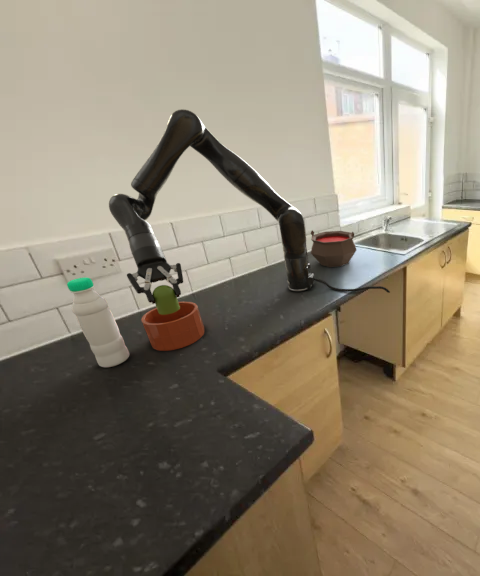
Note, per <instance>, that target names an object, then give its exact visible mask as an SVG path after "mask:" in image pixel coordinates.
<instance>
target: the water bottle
mask: <svg viewBox="0 0 480 576" xmlns="http://www.w3.org/2000/svg"><path fill="white" fill-rule="evenodd" d="M66 287H67V289H68V290H69V291H70V293H72V294H73V298H72V305H71V311H72V313H73V314H74V315H75V317H76V320H77V322H78V326H79V327H80V329H81V331H82V333H83V335H84V337H85V339H86V341H87V342H88V344H89V348H90V350H91V352H92V353H93V355H94V357H95V360H96V362H97V365H98V366H99V367H101V368H111V367H116V366H118V365H121V364H123V363H125V362H126V361H127V360H128V359H129V357H130V351H129V349H128V347H127V346H126V344H125V340H124V337H123V336H122V334H121V333H120V329H119V326H118V324H117V321H116V319H115V317H114V314H113V312H112V310H111V308H110V307H109V302H108V300H107V299H106V298H105V297H103V296H102V295H101V294H100V293H99V292H97V291H96V290H95V289H94V287H95V286H94V282H93V280H92V278H90V277H86V276H85V277H79V278H75V279H72V280H69V281H68V282H67V284H66Z"/></svg>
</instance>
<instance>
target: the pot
mask: <svg viewBox="0 0 480 576" xmlns="http://www.w3.org/2000/svg"><path fill="white" fill-rule="evenodd" d="M178 303H179V306H180V309H179V310H178V311H176V312H174V313H171V314H167V315H161V314H159V313H158V310H157V307H154V308H153V309H151V310H149V311H147V312H146V313H145V314H143V315H142V316H141V319H140V321H141V323H142V325H143V328H144V331H145V333H146V336H147V338H148V341H149V344H150V345H151V347H152V349H154V350H156V351H160V352H167V351H175V350H179V349H182V348H185V347H188V346H190V345H192V344H194V343H196V342H197V341H199V340H200V339H201V338H202V337H203V336H204V334H205V326H204V323H203V319H202V315H201V313H200V310H199V305H197V303H195V302H192V301H178Z"/></svg>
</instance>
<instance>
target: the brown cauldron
mask: <svg viewBox="0 0 480 576" xmlns="http://www.w3.org/2000/svg"><path fill="white" fill-rule="evenodd" d="M310 235H311V239H310V240H311V241H312V245H311V249H310V254H311V255H312V256H313V257H314V258H315V260H316V261H317V262H318V263H319V264H320V266H324V267H327V268H336V267H337V268H338V267H343V266H345V265H347V264H349V263H350V261H351V260H352V258H353V256H354V255H355V253H356V252H357V247H356V244H355V242H354V240H353V239H354V237H355V232H354V231H352V232H350V231H344V230H330V231H321V232H318V233H315V231H314V230H313V229H312V230H310Z"/></svg>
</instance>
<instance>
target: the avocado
mask: <svg viewBox="0 0 480 576" xmlns="http://www.w3.org/2000/svg"><path fill="white" fill-rule="evenodd" d="M152 295H153V298H154V301H155V308H157V310H158V313H159V314H161V315H167V314H171V313H174V312H176V311H178V310H179V309H180V306H179V303H178V302H179V300H178V297H176V294H175V291H174V289H173V286H170V285H167V284H161V285H158V286H156V287H155V288H154V289H153V291H152Z"/></svg>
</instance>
